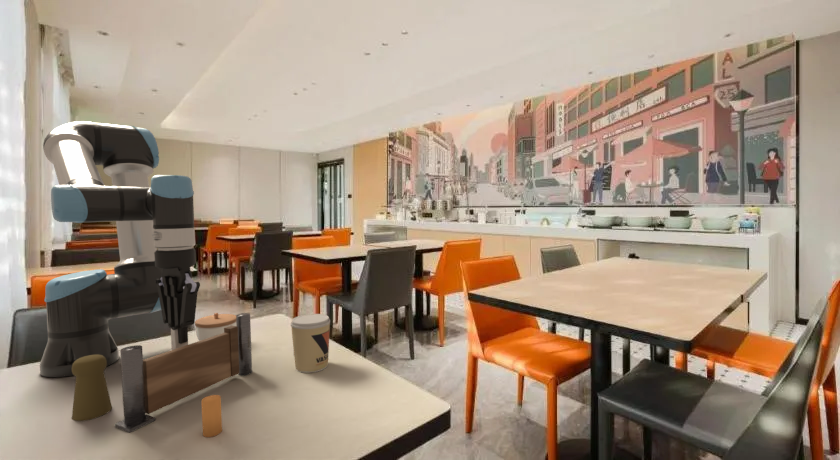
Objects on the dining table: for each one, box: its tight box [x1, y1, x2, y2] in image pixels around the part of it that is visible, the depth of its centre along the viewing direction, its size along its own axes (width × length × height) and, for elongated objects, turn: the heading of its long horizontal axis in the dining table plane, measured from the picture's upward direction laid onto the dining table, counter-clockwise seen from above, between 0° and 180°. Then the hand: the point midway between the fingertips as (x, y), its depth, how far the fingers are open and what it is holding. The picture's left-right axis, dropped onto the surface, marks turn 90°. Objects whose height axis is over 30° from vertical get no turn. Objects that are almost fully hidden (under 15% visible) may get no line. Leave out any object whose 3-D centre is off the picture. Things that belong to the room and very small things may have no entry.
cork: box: [71, 355, 113, 422], centre depth 77 cm, size 6×6×11 cm
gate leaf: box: [143, 326, 239, 415], centre depth 84 cm, size 2×20×11 cm, turn 155°
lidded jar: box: [194, 312, 237, 341], centre depth 114 cm, size 11×11×9 cm
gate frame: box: [114, 312, 253, 433], centre depth 83 cm, size 4×28×14 cm, turn 155°
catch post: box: [200, 394, 223, 438], centre depth 70 cm, size 3×3×6 cm
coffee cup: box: [290, 313, 331, 374], centre depth 98 cm, size 9×9×12 cm
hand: (180, 356), depth 87 cm, fingers closed
